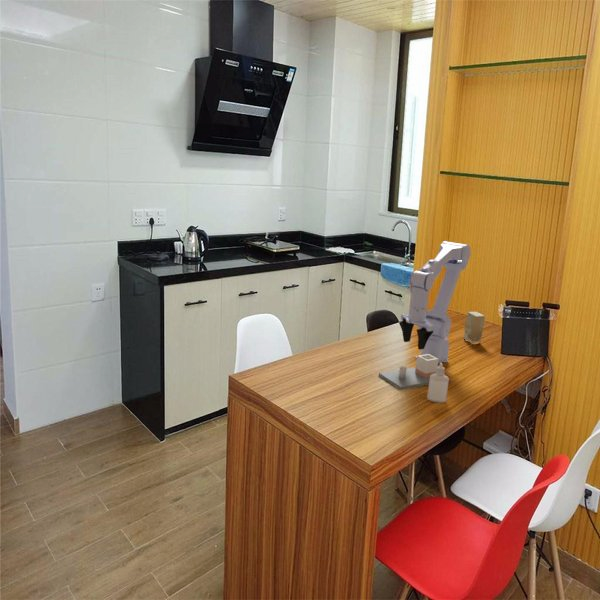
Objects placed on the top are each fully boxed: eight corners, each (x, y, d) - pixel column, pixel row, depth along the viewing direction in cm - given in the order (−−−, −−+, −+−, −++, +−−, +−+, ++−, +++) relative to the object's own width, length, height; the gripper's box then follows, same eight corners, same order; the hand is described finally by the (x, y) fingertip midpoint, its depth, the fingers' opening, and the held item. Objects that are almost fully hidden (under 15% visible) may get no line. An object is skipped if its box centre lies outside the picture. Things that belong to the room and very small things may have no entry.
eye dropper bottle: (440, 405, 161) (445, 367, 158) (424, 398, 165) (429, 362, 162) (448, 401, 164) (453, 364, 161) (432, 395, 168) (436, 359, 165)
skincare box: (462, 339, 223) (466, 311, 220) (471, 339, 225) (476, 311, 222) (472, 345, 217) (476, 316, 214) (481, 344, 219) (485, 315, 216)
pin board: (425, 368, 189) (427, 356, 188) (449, 381, 179) (450, 368, 178) (378, 375, 181) (380, 363, 179) (400, 389, 170) (402, 376, 169)
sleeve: (426, 370, 185) (428, 353, 184) (436, 375, 181) (438, 358, 179) (415, 372, 183) (417, 355, 181) (424, 377, 178) (426, 360, 177)
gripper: (395, 302, 185) (391, 339, 188) (423, 313, 173) (418, 353, 176) (411, 300, 188) (407, 337, 192) (440, 312, 176) (435, 351, 179)
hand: (413, 345), depth 184 cm, fingers open, 7 cm apart
